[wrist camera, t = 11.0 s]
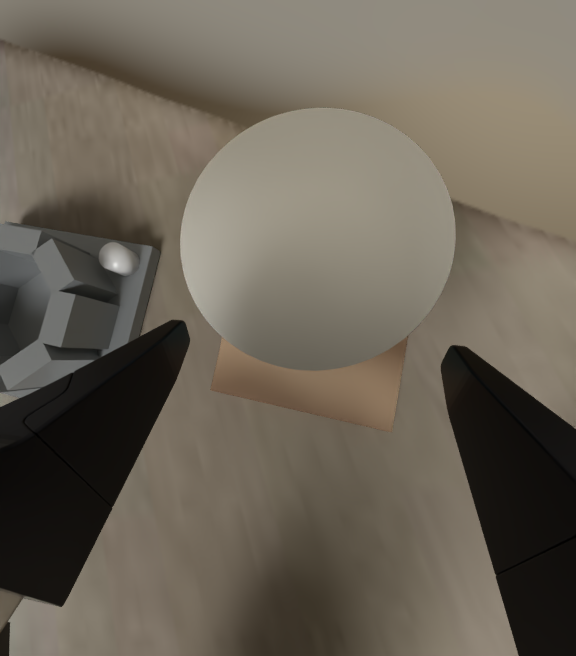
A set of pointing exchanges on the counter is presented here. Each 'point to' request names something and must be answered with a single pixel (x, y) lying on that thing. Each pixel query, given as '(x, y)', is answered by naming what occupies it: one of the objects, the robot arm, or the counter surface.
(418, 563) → the counter surface
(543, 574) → the robot arm
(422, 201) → the ball
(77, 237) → the housing
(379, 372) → the board
